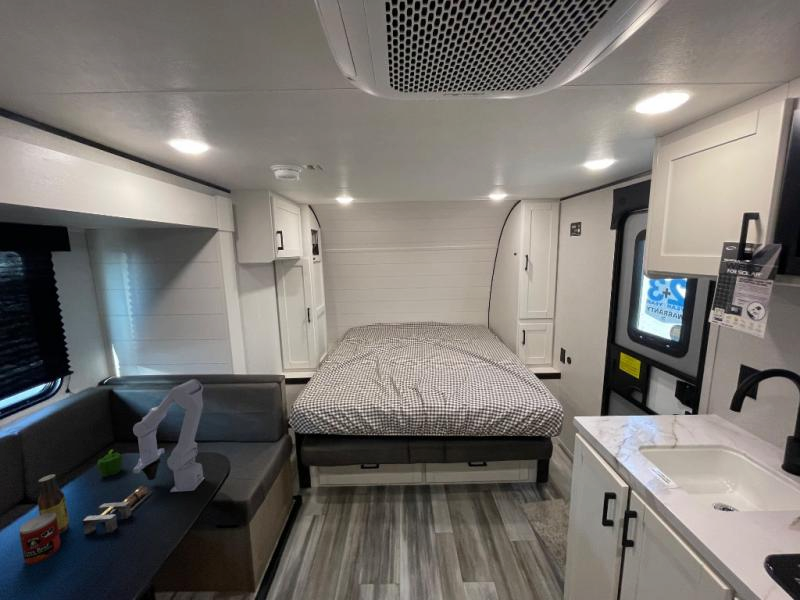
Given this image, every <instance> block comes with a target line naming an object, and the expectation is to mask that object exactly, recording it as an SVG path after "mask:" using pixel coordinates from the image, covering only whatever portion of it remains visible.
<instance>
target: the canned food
mask: <svg viewBox="0 0 800 600" xmlns="http://www.w3.org/2000/svg"><path fill="white" fill-rule="evenodd" d="M19 538H20V543H21V544H20V545H21V550H22V556H23V561H24V563H25V564H26V565H33V564H37V563H40V562H42V561H44V560H46V559H48V558H49V557H51V556H52V555H53V554H55V553H56V552H58V550H59V549H60V546H61V537H60V534H59V530H58V523H57V517H56V514H55V513H52V512H51V513H46V514H42V515H37V516H35V517H34V518H32V519H30V520H28V521H26V522H25V523H24V524H23V525H21V526H20V527H19Z"/></svg>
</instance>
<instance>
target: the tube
mask: <svg viewBox="0 0 800 600" xmlns="http://www.w3.org/2000/svg"><path fill="white" fill-rule="evenodd" d="M148 492H149V491H148V487H147V486H146V485H141V486H139V487H138V488H137V489H136V490H135V491H133V492H132V493H130V494H129V497H128V496H127V497H128V498H127V497H126V498H125V499H124V500H123V501H122V502H130V506H131V507H133V506H134V505H135V504H136V503H138V502H139V501H140V500H141V499H142V498H143V497H144V496H145V495H146V494H147V493H148ZM117 511H119V512H120V509H118V510H117Z"/></svg>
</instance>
